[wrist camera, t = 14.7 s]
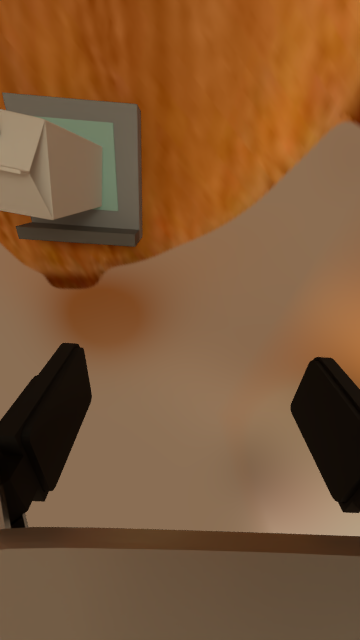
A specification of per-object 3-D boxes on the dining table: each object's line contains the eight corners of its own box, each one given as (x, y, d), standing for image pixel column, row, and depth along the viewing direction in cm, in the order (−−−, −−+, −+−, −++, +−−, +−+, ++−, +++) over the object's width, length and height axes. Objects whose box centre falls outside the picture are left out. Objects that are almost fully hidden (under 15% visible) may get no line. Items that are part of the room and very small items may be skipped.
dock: (17, 100, 31) (-24, 79, 25) (140, 110, 31) (130, 93, 25) (44, 230, 39) (19, 238, 33) (142, 236, 39) (135, 246, 33)
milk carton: (102, 206, 34) (28, 227, 17) (51, 196, 33) (-76, 209, 17) (103, 146, 30) (11, 102, 14) (46, 134, 30) (-121, 72, 13)
